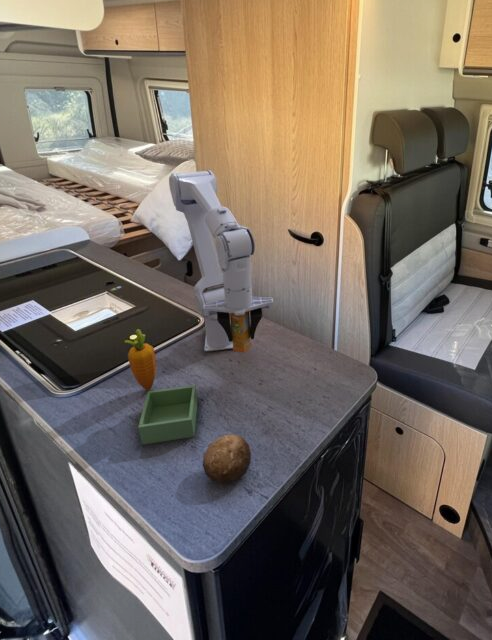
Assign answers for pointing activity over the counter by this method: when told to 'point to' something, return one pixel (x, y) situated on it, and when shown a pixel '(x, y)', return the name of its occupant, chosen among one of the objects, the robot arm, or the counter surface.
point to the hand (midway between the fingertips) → (241, 337)
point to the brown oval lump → (227, 459)
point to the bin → (168, 415)
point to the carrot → (142, 361)
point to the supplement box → (241, 332)
